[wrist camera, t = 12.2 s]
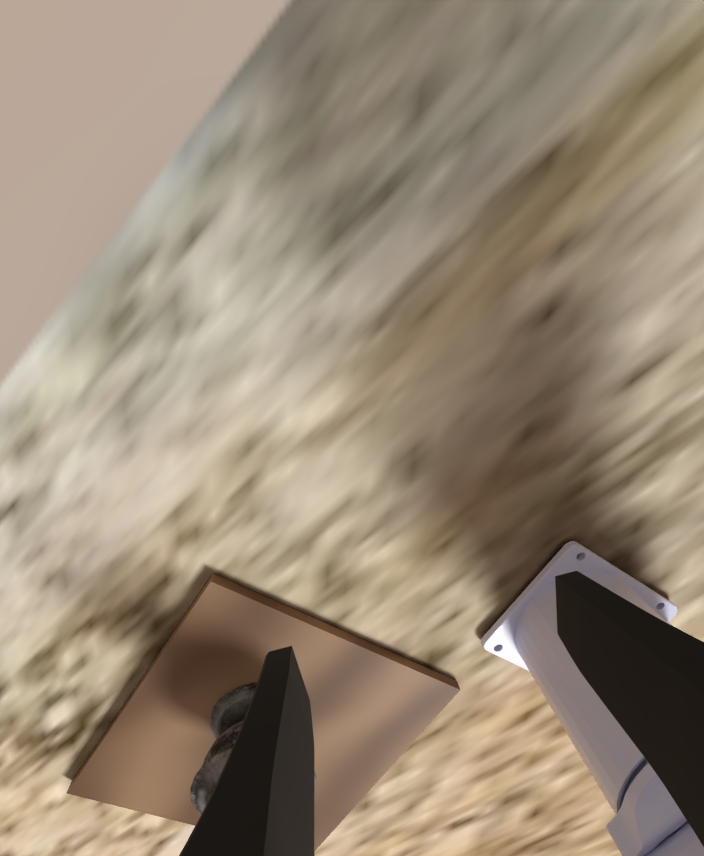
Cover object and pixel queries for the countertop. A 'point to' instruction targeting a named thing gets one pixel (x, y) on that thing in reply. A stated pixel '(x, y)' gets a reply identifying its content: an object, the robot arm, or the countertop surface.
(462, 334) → the countertop surface
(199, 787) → the dark grey turned piece
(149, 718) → the walnut board
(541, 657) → the robot arm
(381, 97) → the countertop surface
